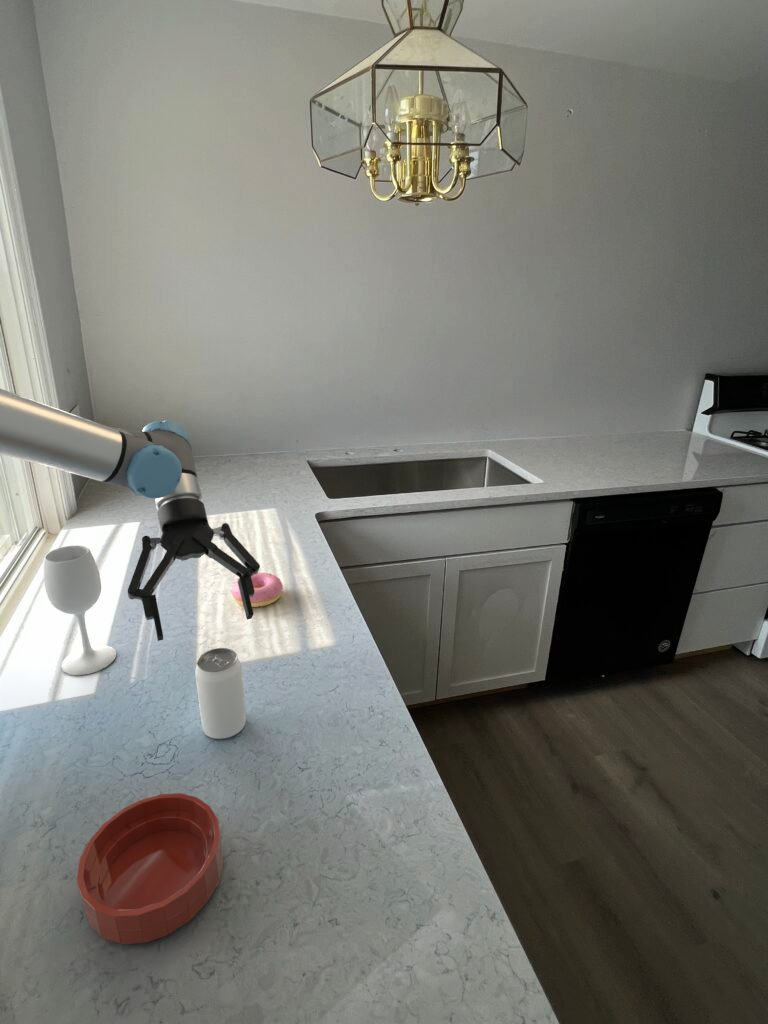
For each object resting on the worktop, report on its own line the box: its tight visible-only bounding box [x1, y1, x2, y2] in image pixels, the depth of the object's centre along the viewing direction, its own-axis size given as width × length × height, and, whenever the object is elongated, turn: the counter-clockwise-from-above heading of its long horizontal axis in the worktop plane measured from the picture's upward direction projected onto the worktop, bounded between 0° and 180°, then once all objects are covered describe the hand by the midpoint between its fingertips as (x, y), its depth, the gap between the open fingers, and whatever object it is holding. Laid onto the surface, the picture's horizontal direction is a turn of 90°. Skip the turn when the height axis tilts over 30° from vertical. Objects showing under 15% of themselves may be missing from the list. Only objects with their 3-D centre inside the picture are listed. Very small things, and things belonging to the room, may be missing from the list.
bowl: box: [76, 792, 224, 945], centre depth 61 cm, size 14×14×5 cm
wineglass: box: [43, 545, 117, 676], centre depth 95 cm, size 9×9×21 cm
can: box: [194, 647, 247, 740], centre depth 82 cm, size 6×6×12 cm
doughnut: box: [230, 572, 284, 608], centre depth 120 cm, size 11×11×4 cm
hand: (206, 627), depth 86 cm, fingers open, 13 cm apart
